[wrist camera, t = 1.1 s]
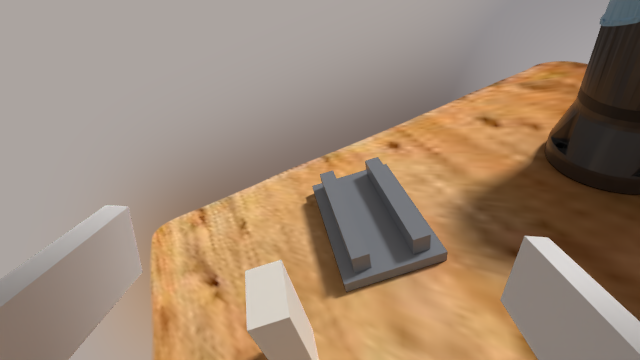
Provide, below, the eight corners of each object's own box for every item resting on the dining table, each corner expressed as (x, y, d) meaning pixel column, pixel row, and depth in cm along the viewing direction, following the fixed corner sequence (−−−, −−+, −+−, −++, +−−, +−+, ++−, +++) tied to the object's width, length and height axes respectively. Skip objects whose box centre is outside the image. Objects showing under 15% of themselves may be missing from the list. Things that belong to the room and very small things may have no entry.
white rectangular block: (312, 329, 33) (281, 259, 25) (323, 381, 29) (289, 317, 21) (284, 338, 33) (245, 270, 25) (291, 392, 29) (247, 330, 21)
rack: (386, 171, 50) (384, 150, 47) (446, 260, 36) (448, 237, 33) (314, 193, 49) (308, 173, 47) (346, 291, 35) (340, 271, 33)
